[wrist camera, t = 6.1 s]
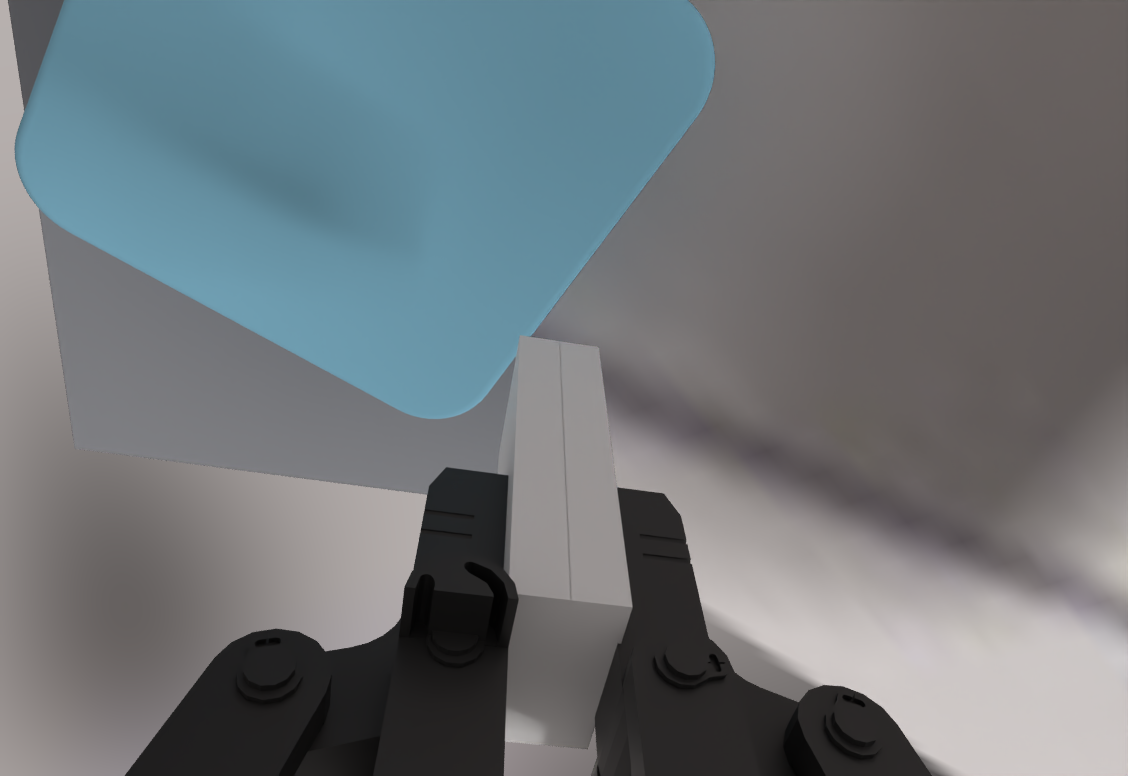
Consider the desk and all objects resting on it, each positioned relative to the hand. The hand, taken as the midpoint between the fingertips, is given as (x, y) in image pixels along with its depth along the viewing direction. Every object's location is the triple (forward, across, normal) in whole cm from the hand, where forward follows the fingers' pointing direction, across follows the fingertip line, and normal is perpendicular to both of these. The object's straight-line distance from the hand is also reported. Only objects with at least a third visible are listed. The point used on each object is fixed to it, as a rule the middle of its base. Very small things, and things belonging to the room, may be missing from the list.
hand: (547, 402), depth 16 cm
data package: (+7, -1, -1) cm, 7 cm away
